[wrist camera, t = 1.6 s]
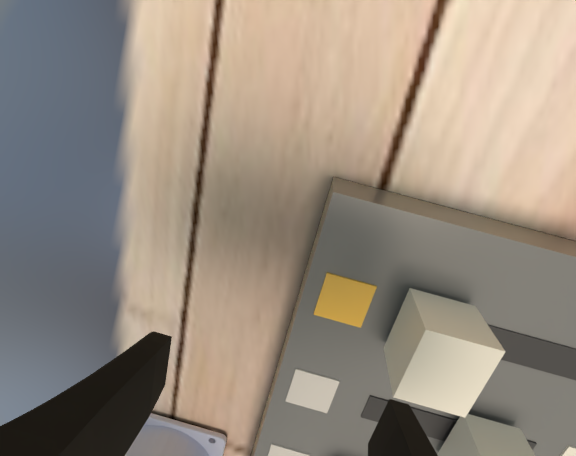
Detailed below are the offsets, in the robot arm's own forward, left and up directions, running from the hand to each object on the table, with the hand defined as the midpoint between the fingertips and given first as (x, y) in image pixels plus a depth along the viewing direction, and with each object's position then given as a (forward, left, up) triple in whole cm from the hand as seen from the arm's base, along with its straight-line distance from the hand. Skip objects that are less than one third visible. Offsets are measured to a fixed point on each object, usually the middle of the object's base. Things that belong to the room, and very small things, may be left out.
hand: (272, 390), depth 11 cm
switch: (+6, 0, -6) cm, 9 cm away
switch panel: (+9, -6, -9) cm, 15 cm away
